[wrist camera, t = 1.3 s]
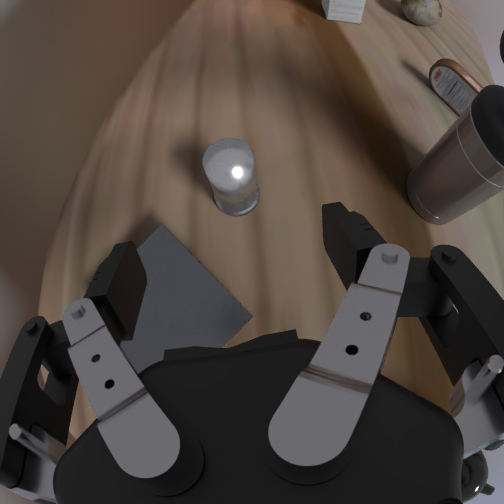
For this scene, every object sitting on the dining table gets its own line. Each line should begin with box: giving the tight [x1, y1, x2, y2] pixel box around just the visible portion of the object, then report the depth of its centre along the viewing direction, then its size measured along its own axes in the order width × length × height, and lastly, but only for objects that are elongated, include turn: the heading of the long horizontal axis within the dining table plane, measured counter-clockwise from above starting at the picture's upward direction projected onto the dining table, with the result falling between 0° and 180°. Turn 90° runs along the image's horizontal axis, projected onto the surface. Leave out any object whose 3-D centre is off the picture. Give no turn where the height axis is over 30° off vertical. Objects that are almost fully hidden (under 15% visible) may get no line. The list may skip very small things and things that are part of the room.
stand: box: [120, 224, 253, 373], centre depth 32 cm, size 14×14×5 cm
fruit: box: [401, 0, 442, 26], centre depth 39 cm, size 10×9×12 cm
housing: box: [203, 138, 259, 216], centre depth 33 cm, size 6×6×10 cm
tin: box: [429, 59, 484, 116], centre depth 35 cm, size 15×3×8 cm, turn 40°
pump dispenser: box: [461, 450, 495, 503], centre depth 22 cm, size 10×10×15 cm
